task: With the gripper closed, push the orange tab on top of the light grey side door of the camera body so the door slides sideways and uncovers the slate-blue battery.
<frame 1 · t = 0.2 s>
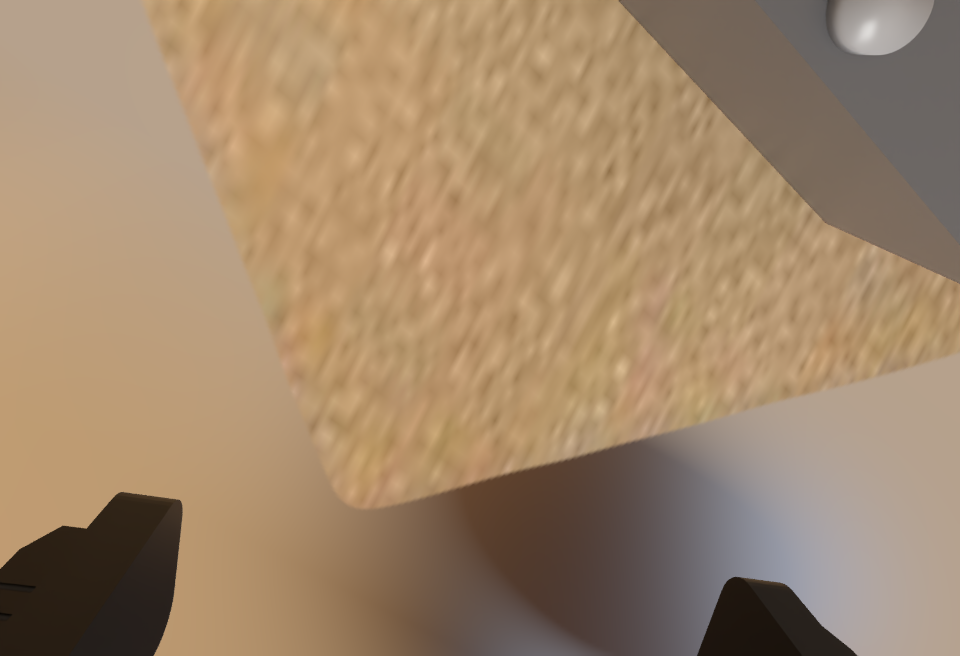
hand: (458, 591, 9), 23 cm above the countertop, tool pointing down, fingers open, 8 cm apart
camera body: (817, 29, 27), on the countertop
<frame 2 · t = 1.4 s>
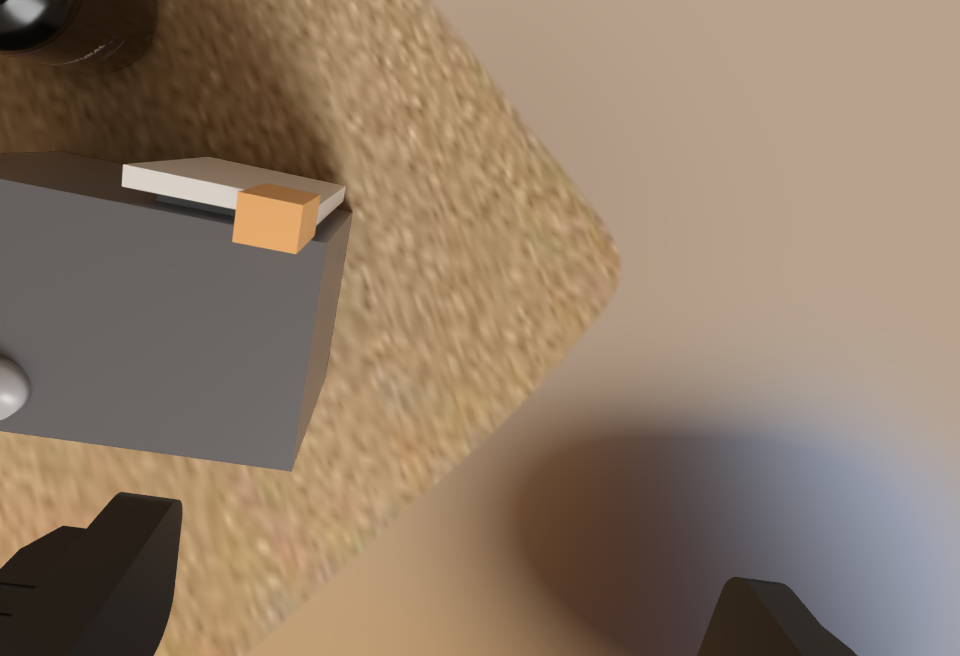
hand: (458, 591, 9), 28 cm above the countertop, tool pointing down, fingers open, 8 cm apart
supplement bottle: (91, 0, 31), on the countertop
camera body: (202, 272, 35), on the countertop
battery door: (243, 189, 26), point 8 cm above the countertop, slide at 0.0 cm
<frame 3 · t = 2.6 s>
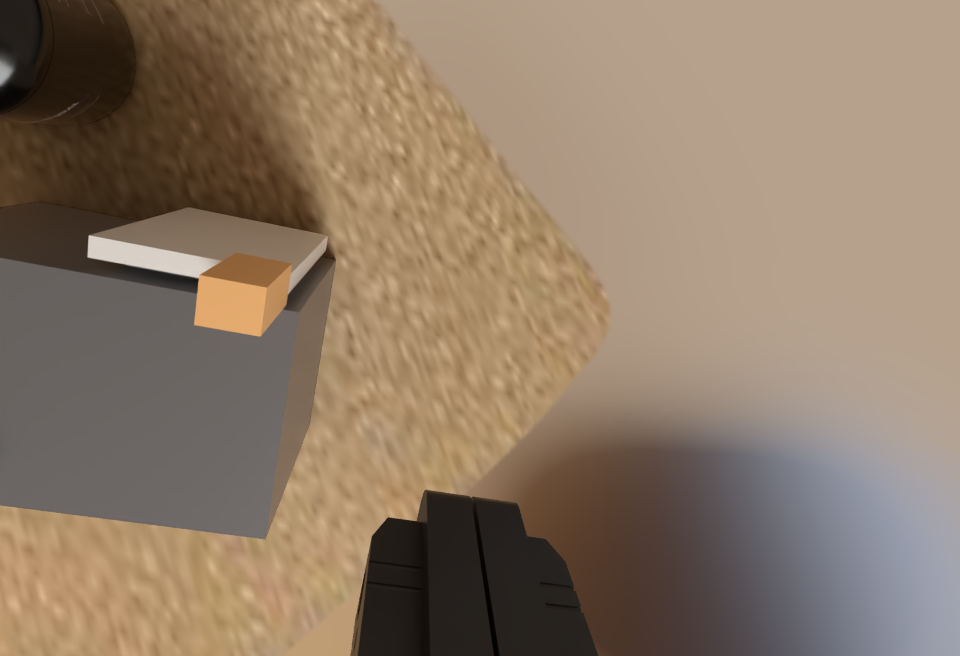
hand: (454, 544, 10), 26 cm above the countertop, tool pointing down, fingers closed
supplement bottle: (69, 51, 30), on the countertop
camera body: (183, 321, 34), on the countertop
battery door: (216, 251, 25), point 8 cm above the countertop, slide at 0.0 cm
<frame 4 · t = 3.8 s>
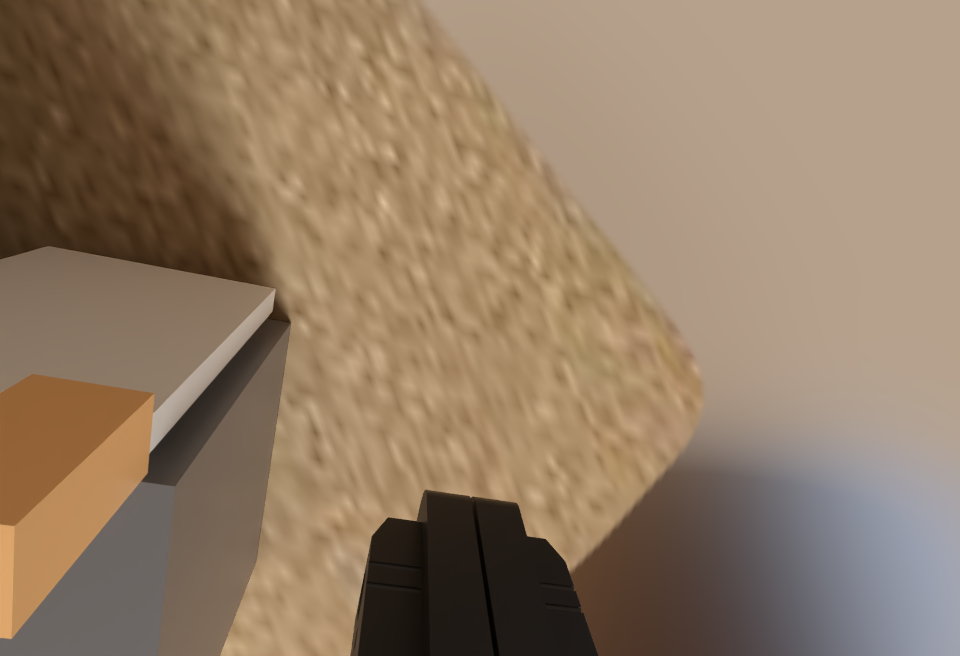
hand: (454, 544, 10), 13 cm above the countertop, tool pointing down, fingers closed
camera body: (57, 416, 22), on the countertop
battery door: (38, 347, 14), point 8 cm above the countertop, slide at 0.0 cm
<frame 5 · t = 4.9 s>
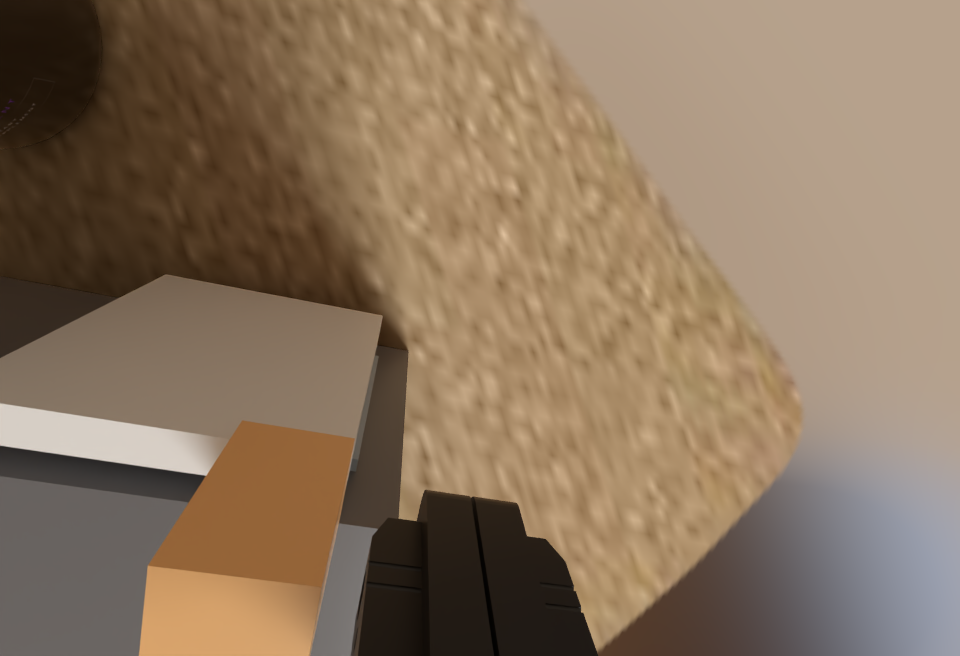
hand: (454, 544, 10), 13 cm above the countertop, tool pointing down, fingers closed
camera body: (178, 441, 23), on the countertop
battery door: (205, 384, 14), point 8 cm above the countertop, slide at 0.6 cm, touching gripper
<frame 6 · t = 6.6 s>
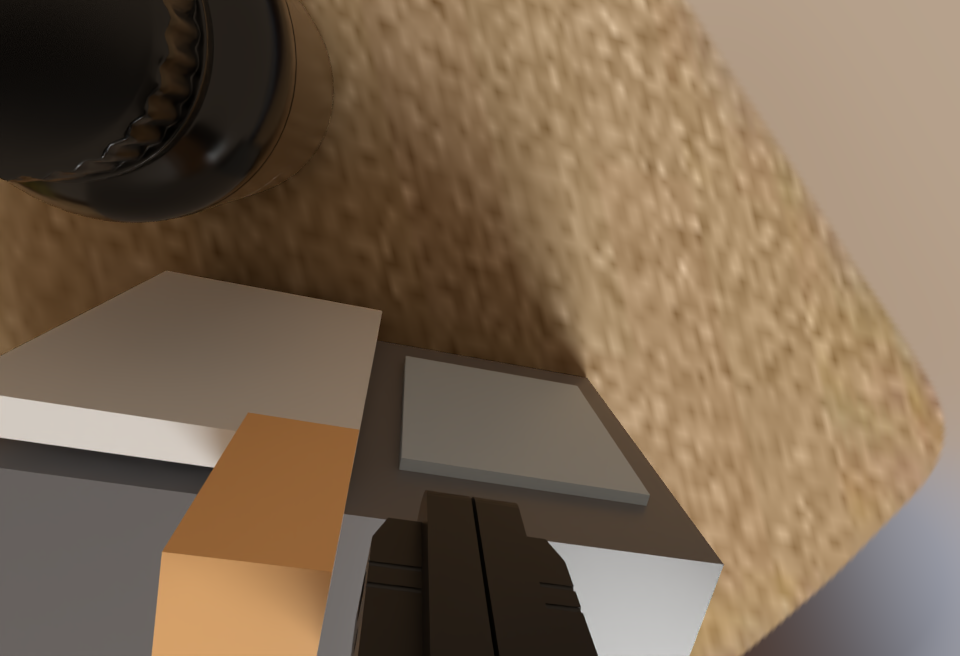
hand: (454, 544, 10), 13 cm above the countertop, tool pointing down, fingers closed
supplement bottle: (231, 84, 20), on the countertop
camera body: (367, 465, 24), on the countertop
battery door: (209, 378, 14), point 8 cm above the countertop, slide at 7.5 cm, touching gripper
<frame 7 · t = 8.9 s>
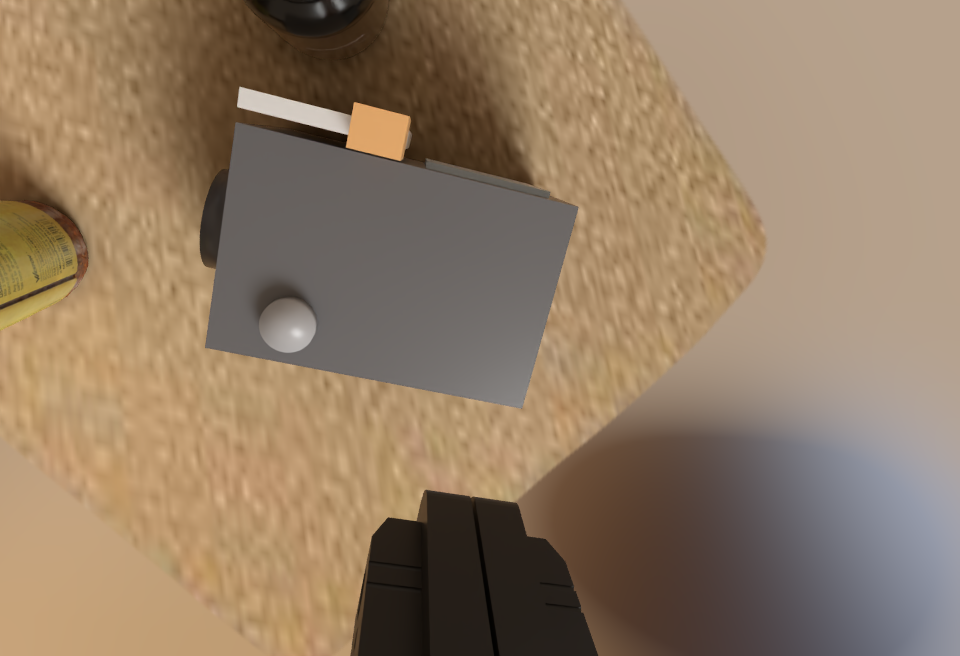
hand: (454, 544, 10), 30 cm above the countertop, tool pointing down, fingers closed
sauce bottle: (40, 253, 37), on the countertop
camera body: (399, 241, 39), on the countertop
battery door: (334, 121, 29), point 8 cm above the countertop, slide at 7.5 cm
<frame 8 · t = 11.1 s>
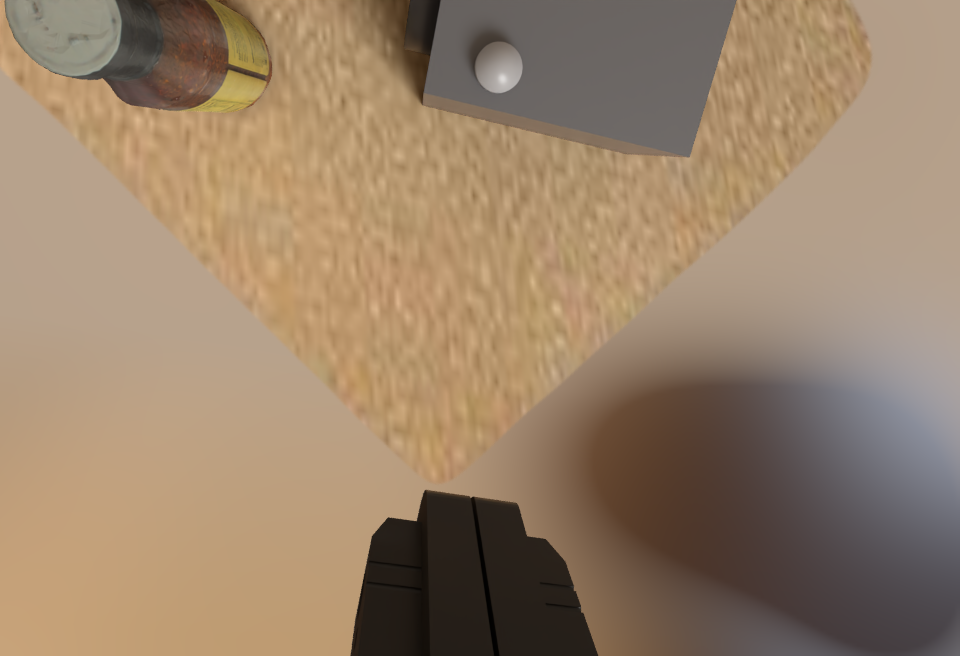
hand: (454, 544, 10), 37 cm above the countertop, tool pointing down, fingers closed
sauce bottle: (227, 67, 41), on the countertop
camera body: (544, 55, 43), on the countertop
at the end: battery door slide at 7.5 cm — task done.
